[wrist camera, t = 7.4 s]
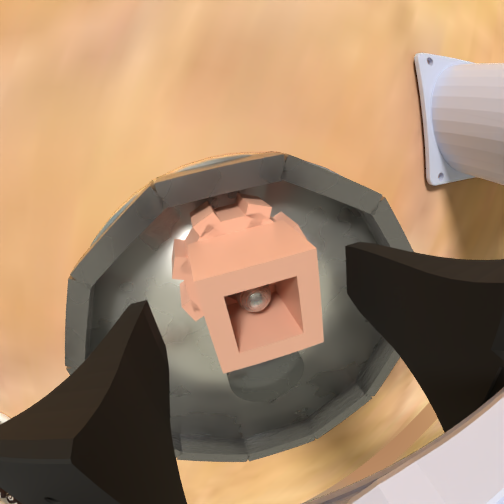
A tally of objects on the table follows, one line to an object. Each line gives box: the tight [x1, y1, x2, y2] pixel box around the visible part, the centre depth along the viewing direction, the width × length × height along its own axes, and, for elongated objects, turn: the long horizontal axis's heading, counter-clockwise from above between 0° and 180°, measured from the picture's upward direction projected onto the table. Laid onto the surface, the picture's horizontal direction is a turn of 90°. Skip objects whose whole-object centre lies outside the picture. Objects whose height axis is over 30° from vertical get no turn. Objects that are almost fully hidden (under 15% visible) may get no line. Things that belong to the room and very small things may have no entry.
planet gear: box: [172, 193, 324, 374], centre depth 12 cm, size 5×5×5 cm
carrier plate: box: [65, 151, 413, 462], centre depth 15 cm, size 19×19×5 cm
